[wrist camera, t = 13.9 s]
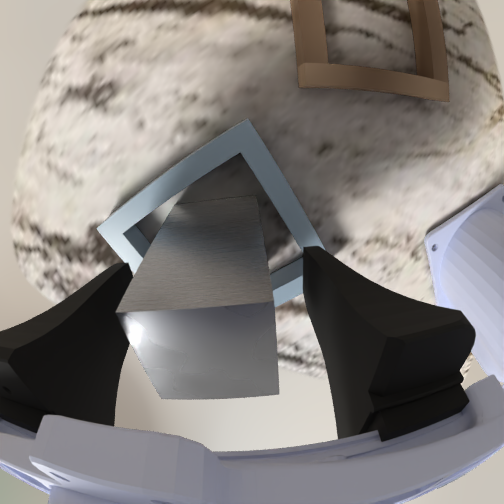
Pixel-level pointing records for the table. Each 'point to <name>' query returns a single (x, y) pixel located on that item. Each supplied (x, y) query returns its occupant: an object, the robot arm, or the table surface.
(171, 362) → the grey metal block
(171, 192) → the light blue square frame
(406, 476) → the robot arm
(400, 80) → the walnut socket
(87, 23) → the table surface
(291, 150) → the table surface
